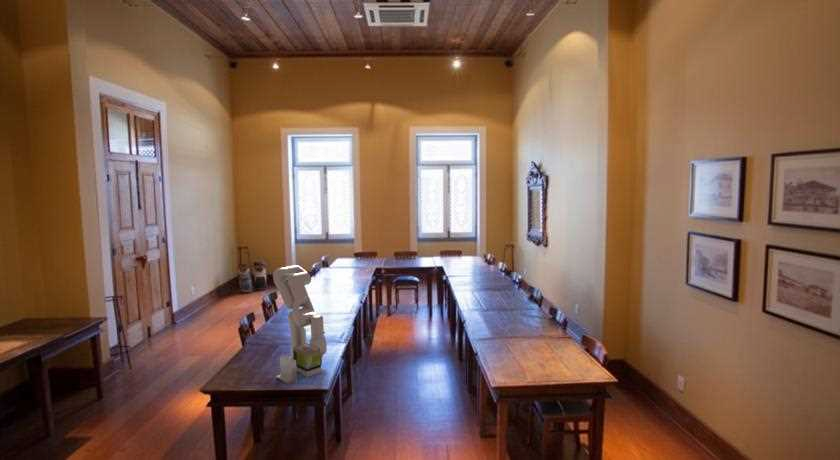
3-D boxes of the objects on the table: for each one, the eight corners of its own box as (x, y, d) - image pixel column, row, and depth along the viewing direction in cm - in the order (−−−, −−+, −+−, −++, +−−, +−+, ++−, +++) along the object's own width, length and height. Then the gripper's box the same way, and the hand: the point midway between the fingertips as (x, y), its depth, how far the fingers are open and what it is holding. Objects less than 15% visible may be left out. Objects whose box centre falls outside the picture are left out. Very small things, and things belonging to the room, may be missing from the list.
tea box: (322, 372, 271) (320, 348, 269) (307, 378, 264) (305, 353, 262) (308, 365, 281) (307, 342, 280) (293, 370, 274) (292, 346, 273)
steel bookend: (276, 378, 264) (275, 358, 262) (285, 375, 268) (284, 355, 267) (287, 384, 256) (286, 363, 255) (297, 380, 260) (296, 360, 259)
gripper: (323, 330, 284) (325, 359, 286) (303, 337, 273) (305, 367, 275) (331, 333, 279) (332, 362, 282) (311, 340, 268) (312, 370, 270)
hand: (319, 364), depth 278 cm, fingers closed
